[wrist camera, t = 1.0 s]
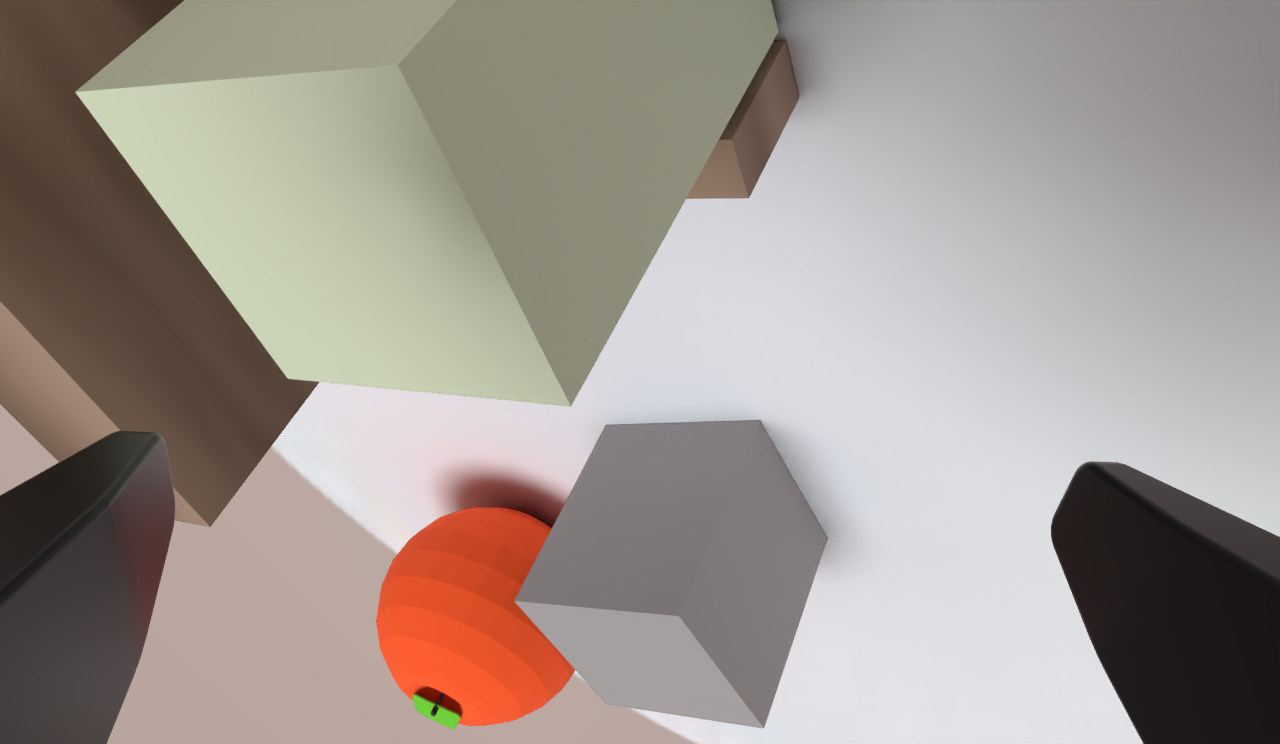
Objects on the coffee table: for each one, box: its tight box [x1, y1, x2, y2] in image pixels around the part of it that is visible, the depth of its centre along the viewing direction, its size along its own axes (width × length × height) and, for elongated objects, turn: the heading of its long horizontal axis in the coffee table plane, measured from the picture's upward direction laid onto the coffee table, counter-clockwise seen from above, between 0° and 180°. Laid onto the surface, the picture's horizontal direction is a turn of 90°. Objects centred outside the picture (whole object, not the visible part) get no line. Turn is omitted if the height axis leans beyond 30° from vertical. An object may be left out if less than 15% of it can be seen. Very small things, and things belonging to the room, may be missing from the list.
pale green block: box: [76, 0, 779, 406], centre depth 16 cm, size 5×5×9 cm
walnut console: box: [0, 0, 799, 527], centre depth 18 cm, size 12×12×10 cm
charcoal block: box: [514, 420, 828, 728], centre depth 29 cm, size 5×5×6 cm
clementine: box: [376, 507, 575, 730], centre depth 36 cm, size 8×7×7 cm
